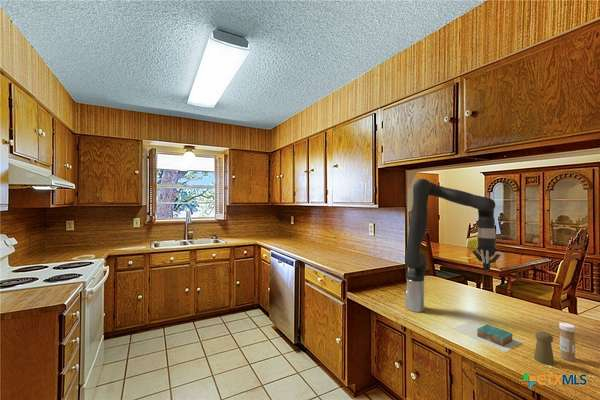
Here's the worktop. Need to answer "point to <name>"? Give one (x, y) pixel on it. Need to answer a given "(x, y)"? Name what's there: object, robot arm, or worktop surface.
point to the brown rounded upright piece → (544, 348)
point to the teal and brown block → (494, 335)
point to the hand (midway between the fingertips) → (486, 270)
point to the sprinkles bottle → (567, 341)
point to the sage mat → (471, 331)
